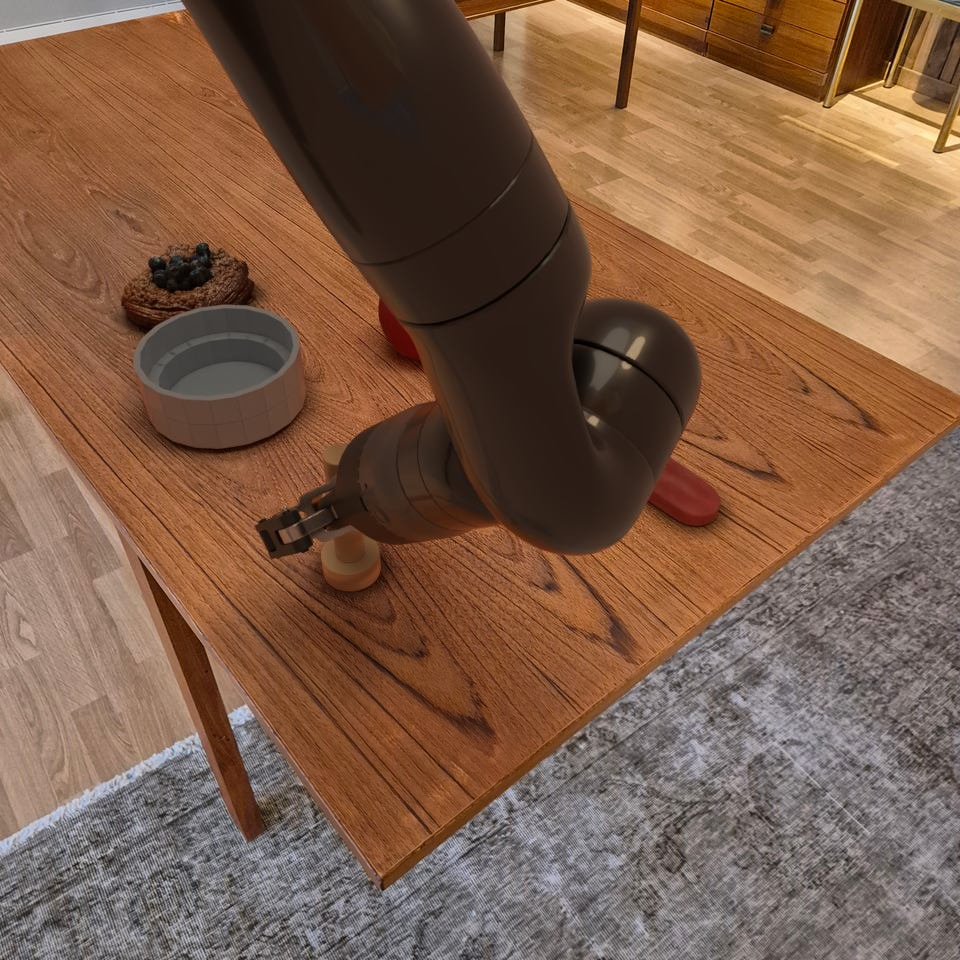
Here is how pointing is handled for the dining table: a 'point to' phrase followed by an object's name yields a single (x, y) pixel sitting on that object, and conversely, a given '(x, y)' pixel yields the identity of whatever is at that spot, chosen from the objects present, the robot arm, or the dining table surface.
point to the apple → (396, 333)
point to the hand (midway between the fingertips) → (333, 502)
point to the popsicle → (685, 496)
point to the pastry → (186, 284)
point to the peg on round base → (347, 544)
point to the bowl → (221, 375)
